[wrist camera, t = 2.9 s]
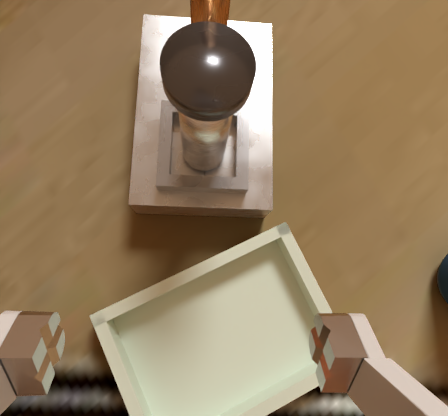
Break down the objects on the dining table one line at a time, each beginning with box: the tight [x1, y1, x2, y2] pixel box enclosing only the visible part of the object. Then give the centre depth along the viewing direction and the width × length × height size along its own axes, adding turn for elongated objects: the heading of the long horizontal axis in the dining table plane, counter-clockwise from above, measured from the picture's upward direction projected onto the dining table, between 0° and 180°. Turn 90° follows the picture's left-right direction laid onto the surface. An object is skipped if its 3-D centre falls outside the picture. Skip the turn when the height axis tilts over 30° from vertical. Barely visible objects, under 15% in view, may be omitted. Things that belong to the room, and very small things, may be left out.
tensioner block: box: [129, 0, 273, 218], centre depth 27 cm, size 20×12×18 cm, turn 179°
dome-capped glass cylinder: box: [160, 21, 256, 171], centre depth 24 cm, size 5×5×12 cm
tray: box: [90, 222, 332, 416], centre depth 30 cm, size 18×13×3 cm
